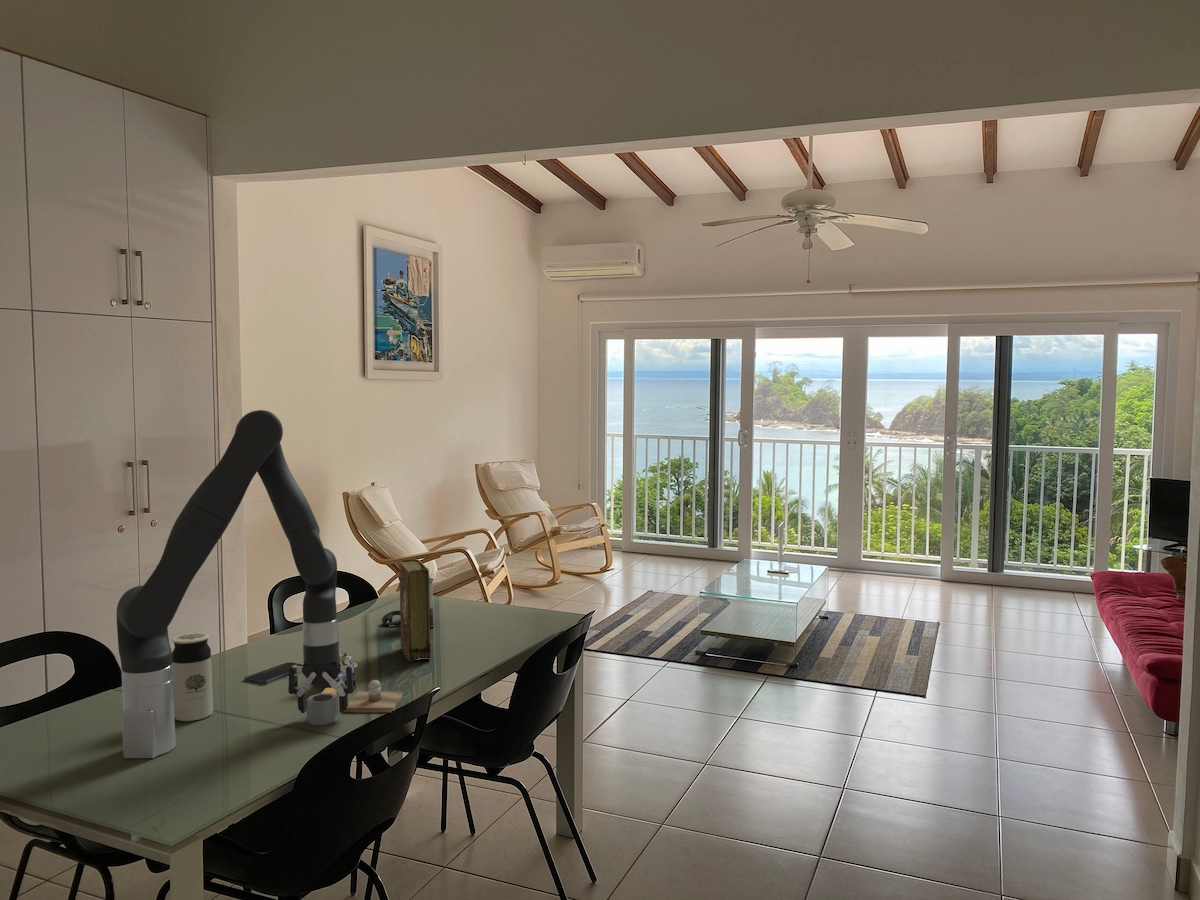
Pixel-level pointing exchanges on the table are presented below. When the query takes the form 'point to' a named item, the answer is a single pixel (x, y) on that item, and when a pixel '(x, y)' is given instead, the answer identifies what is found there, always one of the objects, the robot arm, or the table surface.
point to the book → (414, 609)
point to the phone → (271, 674)
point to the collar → (323, 707)
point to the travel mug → (192, 677)
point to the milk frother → (388, 617)
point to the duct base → (374, 706)
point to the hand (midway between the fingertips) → (323, 711)
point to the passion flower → (344, 664)
